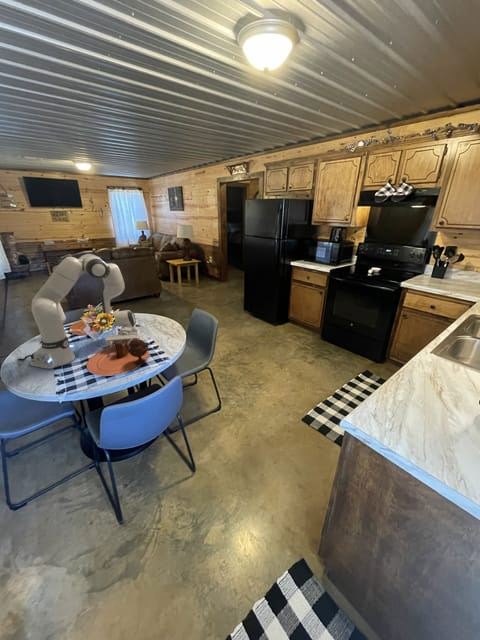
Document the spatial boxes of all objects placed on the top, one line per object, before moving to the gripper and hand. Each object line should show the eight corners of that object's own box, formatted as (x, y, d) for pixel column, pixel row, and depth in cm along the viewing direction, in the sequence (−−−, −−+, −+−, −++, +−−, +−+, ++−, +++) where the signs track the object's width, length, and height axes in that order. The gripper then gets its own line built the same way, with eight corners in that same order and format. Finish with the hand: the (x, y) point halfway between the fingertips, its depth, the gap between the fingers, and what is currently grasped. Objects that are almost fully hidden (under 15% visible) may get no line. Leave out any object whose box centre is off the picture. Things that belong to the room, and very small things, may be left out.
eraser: (117, 357, 156) (114, 344, 152) (119, 352, 161) (116, 339, 157) (124, 356, 156) (121, 343, 153) (126, 352, 161) (123, 339, 158)
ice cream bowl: (144, 368, 145) (140, 344, 139) (126, 365, 147) (121, 342, 141) (154, 358, 155) (150, 335, 149) (136, 356, 157) (132, 333, 151)
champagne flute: (57, 337, 181) (47, 304, 171) (67, 333, 186) (58, 301, 177) (62, 339, 178) (52, 305, 168) (72, 335, 183) (63, 302, 174)
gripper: (107, 331, 166) (100, 341, 154) (140, 329, 170) (136, 338, 157) (109, 340, 169) (102, 351, 156) (142, 338, 172) (138, 348, 159)
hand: (120, 345), depth 157 cm, fingers open, 8 cm apart
